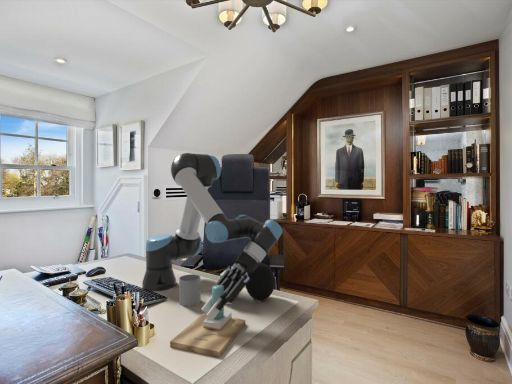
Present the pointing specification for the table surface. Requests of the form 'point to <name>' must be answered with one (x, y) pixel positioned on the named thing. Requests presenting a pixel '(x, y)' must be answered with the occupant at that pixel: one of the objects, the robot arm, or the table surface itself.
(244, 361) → the table surface
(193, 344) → the board
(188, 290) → the cup
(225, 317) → the teal cylinder on base
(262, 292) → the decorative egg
